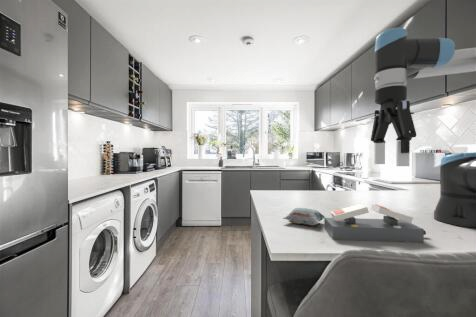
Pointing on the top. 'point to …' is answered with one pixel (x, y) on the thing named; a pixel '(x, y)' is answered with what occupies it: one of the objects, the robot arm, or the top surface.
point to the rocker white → (392, 213)
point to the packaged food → (304, 216)
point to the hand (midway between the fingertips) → (390, 165)
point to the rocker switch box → (374, 229)
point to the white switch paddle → (349, 212)
